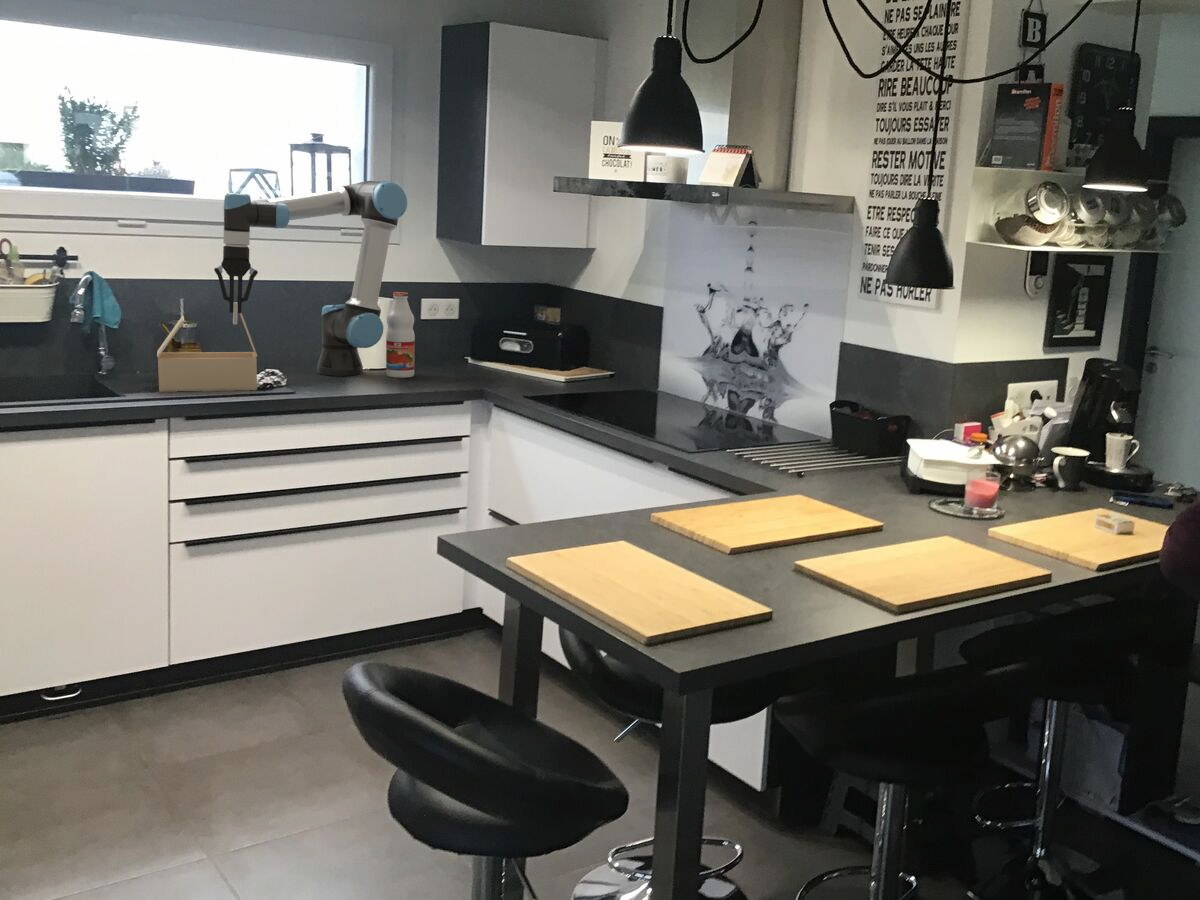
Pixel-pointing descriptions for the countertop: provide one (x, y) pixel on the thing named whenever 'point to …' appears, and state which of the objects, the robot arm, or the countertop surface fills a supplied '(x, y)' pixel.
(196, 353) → the carton
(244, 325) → the flap
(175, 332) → the flap
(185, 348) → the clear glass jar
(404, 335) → the fruit juice
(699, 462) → the countertop surface
